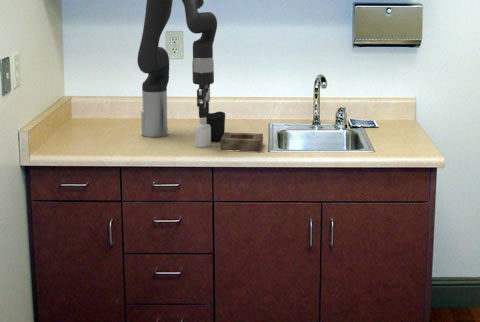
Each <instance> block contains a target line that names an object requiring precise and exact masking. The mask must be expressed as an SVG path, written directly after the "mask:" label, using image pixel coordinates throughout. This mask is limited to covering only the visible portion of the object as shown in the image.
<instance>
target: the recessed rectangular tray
mask: <svg viewBox="0 0 480 322" xmlns="http://www.w3.org/2000/svg"><path fill="white" fill-rule="evenodd" d="M263 142H264V133H255V132H254V133H250V132H229V131H228V132H225V131H224V135H223V136H222V138H221V141H220V151H221V150H240V151H239V152H246V151H260V152H261V150H262V148H263V145H264V143H263Z"/></svg>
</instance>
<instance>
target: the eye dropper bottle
mask: <svg viewBox="0 0 480 322" xmlns="http://www.w3.org/2000/svg"><path fill="white" fill-rule="evenodd" d="M194 132H195V136H194V138H195V141H194V142H195V143H194V145H195V147H196V148H197V149H204V148H208V147H211V146H212V142H211V126H210V125H209V124H206V117H205V118H199V124H197V125H196V126H195V131H194Z"/></svg>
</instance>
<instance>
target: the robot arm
mask: <svg viewBox="0 0 480 322" xmlns="http://www.w3.org/2000/svg"><path fill="white" fill-rule="evenodd" d="M181 2H182V4H183V7H184V13H185V23H186V27H187V29H188V30H189V31H190V32H191V33H192V34H201V36H200V37H199V39H196V40H194V41H193V43H192V63H191V64H192V67H191V68H192V69H191V70H192V84H194V85H198V89H196V107H197V108H198V118H199V119H200V118H205V113H210V102H211V101H210V100H211V88H210V87H211V85H212V84H214V83H215V67H214V66H215V65H214V54H213V53H214V51H213V50H214V47H213V45H214V42H215V37H216V33H217V29H218V19H217V17H216V15H215V14H214V13H213V12H210V11H206V12H204V11H203V12H202V11H201V12H199V11H198V10H199V9H201V8H202V7H203V5H204V0H181ZM172 7H173V0H146V4H145V13H144V23H143V29H142V35H141V39H140V45H139V47H138V48H139V49H138V52H137V65H138V66H137V67H138V68H139V70H140V71H141V72H142V73H144V74H147V77H146V78H145V80H144V81H143V82H142V84H141V89H142V110H140V111H141V113H140V114H141V117H140V119H141V136H144V137H149V138H160V137H162V138H163V137H165V136H168V134H169V133H168V129H169V128H168V92H167V88H168V84H169V80H170V79H169V78H170V57H169V54H168V52H167V50H166V48H164V47H162V46H159V45H160V38H161V35H162V33H163V32H164V30H165V28H166V25H167V24H168V23H169V22H168V21H170V20H169V19H170V17H171V15H172Z"/></svg>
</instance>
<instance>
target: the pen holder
mask: <svg viewBox="0 0 480 322" xmlns="http://www.w3.org/2000/svg"><path fill="white" fill-rule="evenodd" d="M205 117H206V124H209V125H210V126H211V143H219V142H220V143H221V138H222V136H223V135H224V133H225V129H226V128H225V126H226V113H225V112H224V111H216V112H209V113H205Z"/></svg>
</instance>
